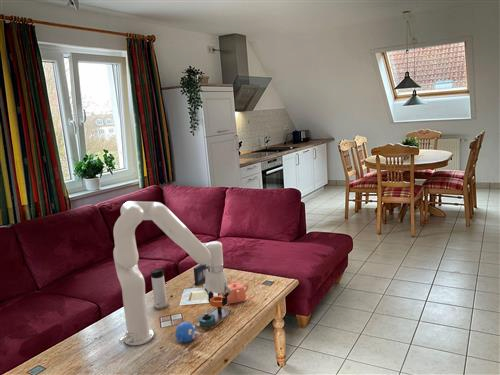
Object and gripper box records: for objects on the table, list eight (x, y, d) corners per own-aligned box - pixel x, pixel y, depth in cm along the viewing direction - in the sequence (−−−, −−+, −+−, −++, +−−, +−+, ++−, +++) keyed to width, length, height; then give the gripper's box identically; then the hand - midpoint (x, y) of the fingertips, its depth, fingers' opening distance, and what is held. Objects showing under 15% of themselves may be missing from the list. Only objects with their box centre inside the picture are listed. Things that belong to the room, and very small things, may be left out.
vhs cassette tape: (198, 285, 238) (196, 268, 237) (194, 284, 240) (192, 267, 238) (217, 273, 253) (216, 258, 252) (213, 273, 255) (212, 257, 253)
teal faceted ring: (208, 327, 189) (208, 322, 188) (196, 324, 192) (195, 319, 192) (218, 320, 195) (217, 315, 194) (205, 317, 198) (205, 312, 198)
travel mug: (159, 311, 210) (154, 273, 207) (152, 307, 215) (148, 270, 212) (170, 306, 215) (165, 269, 211) (163, 302, 219) (159, 266, 216)
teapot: (231, 294, 223) (230, 277, 222) (251, 298, 217) (249, 280, 216) (219, 304, 213) (217, 286, 212) (239, 308, 208) (238, 289, 206)
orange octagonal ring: (219, 308, 196) (219, 303, 195) (207, 305, 200) (207, 300, 199) (228, 301, 202) (228, 297, 202) (216, 299, 206) (216, 294, 205)
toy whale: (196, 351, 173) (194, 332, 171) (170, 347, 177) (168, 329, 175) (208, 336, 184) (207, 318, 182) (184, 332, 188) (182, 315, 186)
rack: (209, 330, 188) (208, 319, 187) (195, 326, 192) (194, 315, 191) (231, 312, 203) (230, 302, 202) (218, 309, 207) (217, 299, 206)
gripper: (195, 267, 199) (198, 303, 202) (226, 273, 190) (228, 310, 193) (205, 262, 205) (208, 296, 208) (235, 267, 196) (237, 303, 199)
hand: (218, 303), depth 201 cm, fingers closed on orange octagonal ring, 7 cm apart
